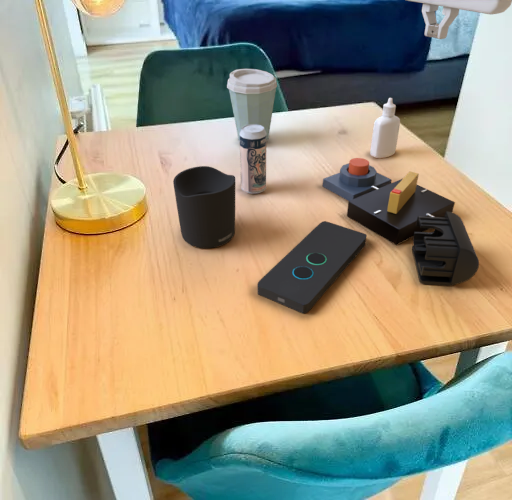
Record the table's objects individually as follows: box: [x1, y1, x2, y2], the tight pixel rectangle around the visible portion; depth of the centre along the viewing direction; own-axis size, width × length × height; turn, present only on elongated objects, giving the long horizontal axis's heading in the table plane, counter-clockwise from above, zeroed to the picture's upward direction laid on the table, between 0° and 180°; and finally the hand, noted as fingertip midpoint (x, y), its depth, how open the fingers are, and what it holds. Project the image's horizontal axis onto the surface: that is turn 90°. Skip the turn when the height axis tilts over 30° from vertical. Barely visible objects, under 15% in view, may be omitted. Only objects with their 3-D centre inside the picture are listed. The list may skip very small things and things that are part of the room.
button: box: [348, 157, 370, 176], centre depth 93 cm, size 4×4×2 cm
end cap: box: [411, 211, 480, 287], centre depth 73 cm, size 10×7×7 cm
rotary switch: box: [346, 178, 456, 246], centre depth 86 cm, size 14×13×3 cm
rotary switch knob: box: [387, 171, 420, 214], centre depth 84 cm, size 9×2×4 cm, turn 146°
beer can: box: [239, 124, 267, 195], centre depth 92 cm, size 5×5×12 cm
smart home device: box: [257, 220, 368, 314], centre depth 75 cm, size 8×2×20 cm
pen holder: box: [172, 165, 236, 249], centre depth 80 cm, size 9×9×10 cm
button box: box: [322, 162, 392, 201], centre depth 95 cm, size 10×8×4 cm
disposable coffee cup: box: [226, 68, 278, 144], centre depth 109 cm, size 11×11×15 cm
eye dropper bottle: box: [369, 97, 401, 159], centre depth 104 cm, size 4×6×12 cm
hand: (435, 37), depth 78 cm, fingers closed
